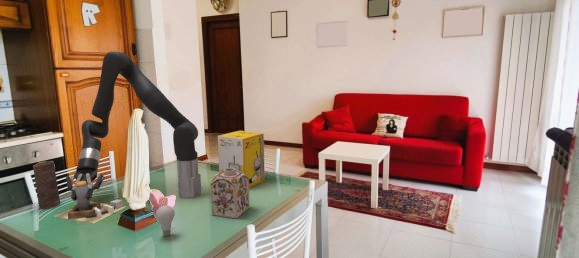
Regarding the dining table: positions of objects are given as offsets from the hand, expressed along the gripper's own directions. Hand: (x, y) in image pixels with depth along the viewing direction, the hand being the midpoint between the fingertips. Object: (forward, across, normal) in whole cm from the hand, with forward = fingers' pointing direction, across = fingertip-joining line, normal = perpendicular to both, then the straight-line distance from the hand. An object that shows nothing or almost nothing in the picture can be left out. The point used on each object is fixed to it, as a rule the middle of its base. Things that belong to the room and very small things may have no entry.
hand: (81, 199), depth 132 cm
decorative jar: (+11, +57, 0) cm, 58 cm away
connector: (+2, 0, +4) cm, 5 cm away
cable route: (+4, +8, +5) cm, 11 cm away
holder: (+3, 0, +6) cm, 7 cm away
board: (+3, +2, +8) cm, 8 cm away
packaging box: (-14, +65, +25) cm, 71 cm away
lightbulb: (+22, +34, -11) cm, 42 cm away
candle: (-4, -17, +15) cm, 23 cm away
